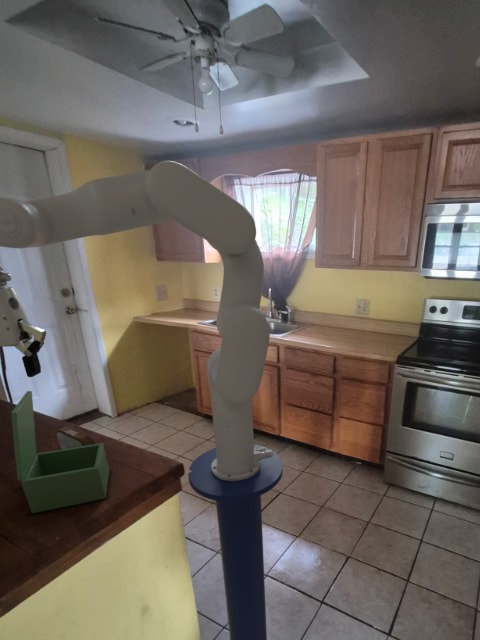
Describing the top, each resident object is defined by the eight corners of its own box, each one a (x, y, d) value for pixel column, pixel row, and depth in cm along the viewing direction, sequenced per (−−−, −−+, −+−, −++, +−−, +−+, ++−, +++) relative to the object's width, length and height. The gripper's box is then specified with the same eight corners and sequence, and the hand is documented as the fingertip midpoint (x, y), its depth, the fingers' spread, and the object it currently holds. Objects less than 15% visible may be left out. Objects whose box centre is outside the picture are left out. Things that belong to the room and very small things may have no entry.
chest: (109, 470, 90) (103, 442, 87) (105, 498, 80) (98, 468, 77) (44, 482, 85) (34, 453, 82) (31, 513, 75) (20, 482, 72)
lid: (31, 391, 77) (27, 391, 77) (16, 412, 68) (10, 412, 67) (36, 451, 82) (32, 452, 82) (22, 479, 72) (17, 480, 72)
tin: (105, 465, 92) (97, 435, 88) (92, 471, 89) (85, 441, 86) (70, 449, 99) (63, 420, 95) (58, 454, 96) (50, 425, 93)
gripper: (43, 278, 67) (66, 368, 73) (-57, 277, 66) (-25, 368, 73) (15, 282, 60) (43, 381, 67) (-96, 281, 59) (-57, 382, 66)
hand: (8, 374), depth 70 cm, fingers open, 9 cm apart
